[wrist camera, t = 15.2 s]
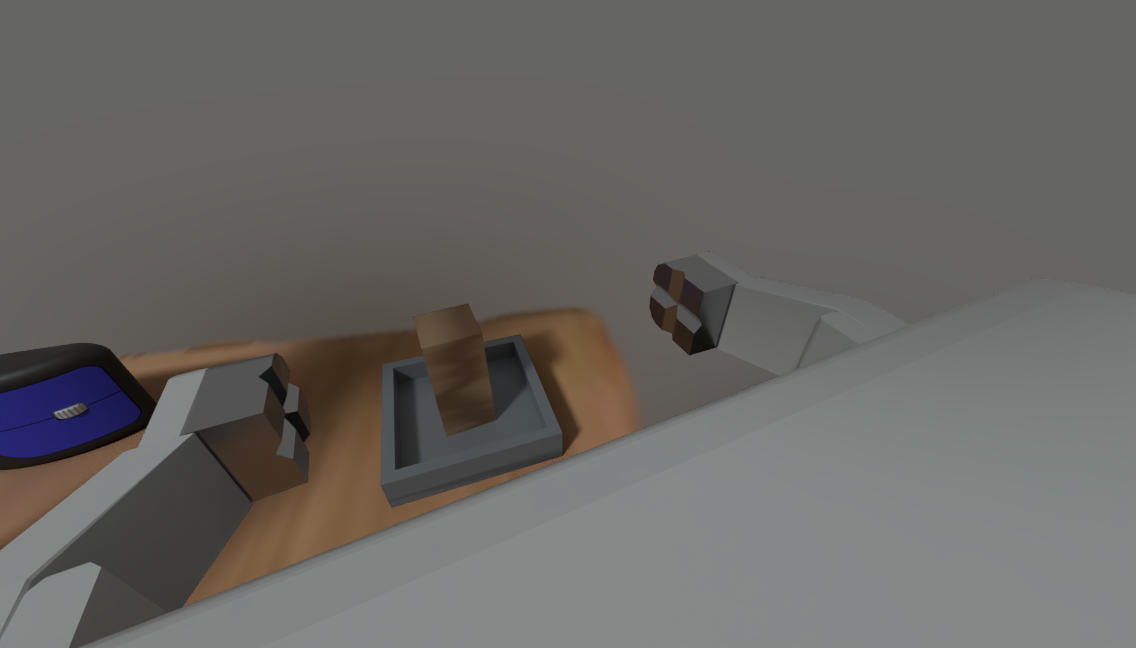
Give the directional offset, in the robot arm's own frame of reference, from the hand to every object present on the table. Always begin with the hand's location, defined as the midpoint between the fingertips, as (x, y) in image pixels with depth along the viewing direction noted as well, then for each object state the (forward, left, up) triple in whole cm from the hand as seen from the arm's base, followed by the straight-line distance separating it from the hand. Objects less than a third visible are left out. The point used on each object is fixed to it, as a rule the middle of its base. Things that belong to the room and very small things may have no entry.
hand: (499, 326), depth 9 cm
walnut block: (-2, +21, -24) cm, 32 cm away
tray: (-1, +21, -25) cm, 32 cm away
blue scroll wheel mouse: (-37, +31, -25) cm, 54 cm away
